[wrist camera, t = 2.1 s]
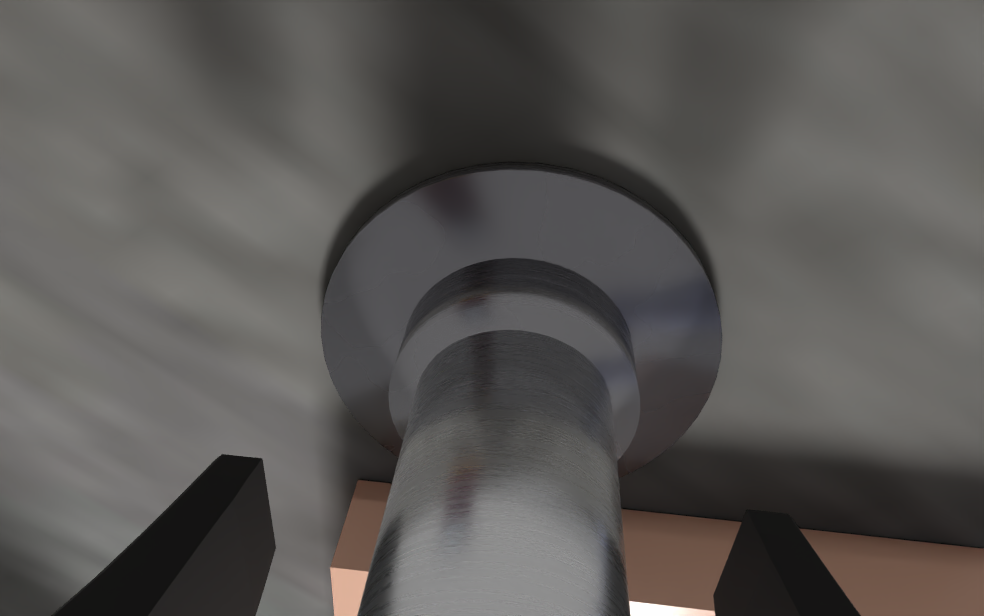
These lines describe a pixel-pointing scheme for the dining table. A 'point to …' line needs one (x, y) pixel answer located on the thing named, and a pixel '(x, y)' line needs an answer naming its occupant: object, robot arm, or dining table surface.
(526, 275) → the grey cylinder
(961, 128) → the dining table surface
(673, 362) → the stud plate
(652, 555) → the dish
